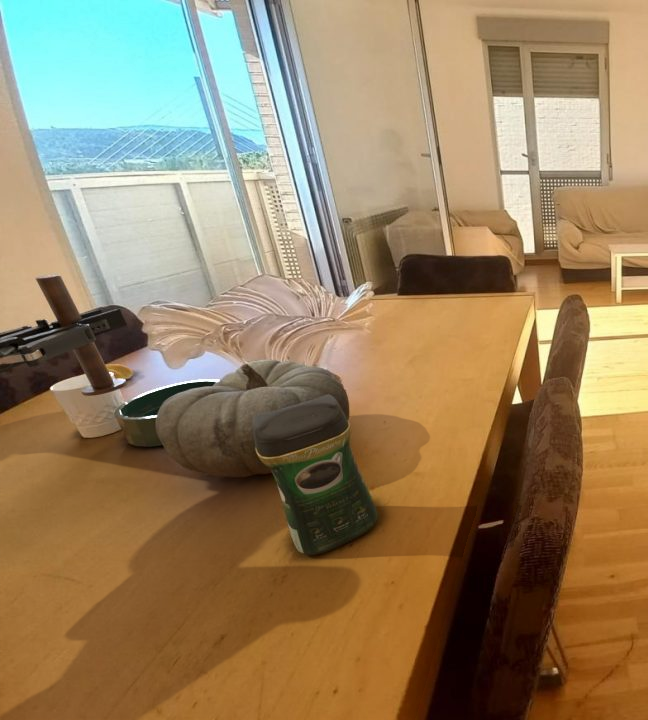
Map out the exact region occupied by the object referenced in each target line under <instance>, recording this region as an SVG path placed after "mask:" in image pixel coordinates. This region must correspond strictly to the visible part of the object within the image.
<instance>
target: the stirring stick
mask: <svg viewBox="0 0 648 720" xmlns="http://www.w3.org/2000/svg"><path fill="white" fill-rule="evenodd" d="M35 280H36V281H35V282H36V283H37V285H38V286H39V289H40V291H41V293H42V294H43V296H44V297H45V300H46V302H47V303H48V306H49V307H50V309H51V311H52V313H53V315H54V317H55V319H56V321H58V323H59V324H60V326H61V328H62V327H65V326H69V325H72V323H71V322H74V321H78V320H81V319H82V318H81V316H80V314H81V313H80V312H79V310H78V308H77V305H76V304H75V302H74V300H73V298H72V296H71V294H70V292H69V289H68V288H67V285H66V284H65V281H64V280H63V278H62V275H60V274H48V275H41V276H37V277H35ZM72 351H73V353H74V355H75V357H76V359H77V361H78V362H79V364H80V366H81V369H82V370H83V372H84V374H86V376H87V378H88V380H89V382H90V384H91V385H89V386H87V387H85V388H83V389H82V390H81V392H82V394H83V395H85V396H94V395H100V394H105V393H109V392H112V391H115V390H118V389H120V390H121V389H123V388H124V387H126V386H127V384H128V382H127V379H126V380H125V379H112V377H111V375H110V373H109V371H108V369H107V367H106V365H107V364H105V362H104V360H103V357H102V356H101V353H100V351H99V350H98V347H97V345H96V343H95V341H94V342H92V343H91V344H90V345H84V346H81V347H79V348H76V349H73V350H72Z"/></svg>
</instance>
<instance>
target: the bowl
mask: <svg viewBox="0 0 648 720" xmlns="http://www.w3.org/2000/svg"><path fill="white" fill-rule="evenodd" d="M219 380H220V379H210V378H209V379H206V378H205V379H197V380H190V381H184V382H179V383H174V384H170V385H166V386H162V387H159V388H158V387H157V388H156V389H152V390H149V391H146V392H144V393H142V394H139V395H137V396H135V397H132V398H131V399H128V400H126V401H124V402H125V403H124V404H122V405H120V406H119V407H118V408H117V409H116V411H115V412H114V414H115V418H116V419H117V421H118V423H119V425H120V427H121V431H122V433H123V435H124V437H125V439H126V441H127V443H128V444H130V445H133V446H134V447H146V448H147V447H149V448H150V447H159V446H163V444H162V442H161V441H160V439H159V437H158V435H157V432H156V424H155V422H156V417H157V414H158V411H159V409H160V407H161V406H162V404H163V403H164V402H165V401H166V400H167V399H168V398H170V397H171V396H173V395H175V394H178V393H180V392H184V391H187V390H190V389H194V388H200V387H208V386H213V385H214V384H215V383H217V382H218V381H219Z"/></svg>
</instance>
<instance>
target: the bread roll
mask: <svg viewBox="0 0 648 720" xmlns="http://www.w3.org/2000/svg"><path fill="white" fill-rule="evenodd" d="M105 365H106V367H107V369H108V371H109V372H111V373H113V375H114V377H115V379H125V380H126V381H127V380H129V379H131V378H132V376H133V375H134V372H133V370H132V369H131V368H130V367H129V366H126V365H123V364H121V363H120V364H118V363H108V364H105ZM84 374H85V373H83V374H82V375H84Z"/></svg>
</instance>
